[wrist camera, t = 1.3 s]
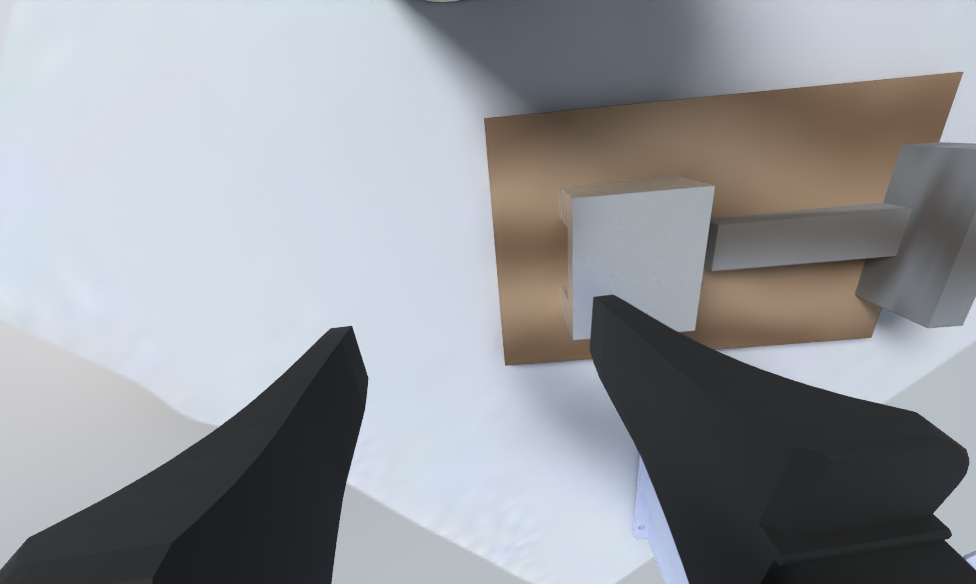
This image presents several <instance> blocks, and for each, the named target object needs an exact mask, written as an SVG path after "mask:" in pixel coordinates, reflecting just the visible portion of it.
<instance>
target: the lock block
mask: <svg viewBox="0 0 976 584" xmlns="http://www.w3.org/2000/svg"><path fill="white" fill-rule="evenodd" d="M714 189H715V186H714V185H710V184H707V183H703V182H699V181H696V180H692V179H688V178H684V177H681V176H673V177H662V178H651V179H640V180H629V181H618V182H607V183H596V184H585V185H574V186H563V187H559V208H560V219H561V220H562V222H563V223H564V224H565V225H566V227H567V228H568V284H564V285H561V311H562V314H563V316H564V319H565V321H566V324H567V326H568V329H569V331H570V334H571V336H572V339H573V340H581V339H590V336H591V322H592V308H593V297H596V296H604V295H615V296H617V297H619V298H621V299H623V300H624V301H626V302H628V303H629V304H631V305H633V306H634V307H636V308H638V309H639V310H641V311H643V312H644V313H646V314H648V315H649V316H651V317H653V318H655V319H656V320H658V321H660V322H661V323H663V324H665V325H667V326H668V327H670V328H672V329H674V330H676V331H677V332H683V331H695V326H696V319H697V312H698V305H699V297H700V290H701V283H702V276H703V269H704V261H705V254H706V247H707V240H708V233H709V225H710V218H711V211H712V204H713V197H714Z"/></svg>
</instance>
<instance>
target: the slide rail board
mask: <svg viewBox="0 0 976 584" xmlns="http://www.w3.org/2000/svg"><path fill="white" fill-rule="evenodd" d="M962 74H963V72H956V73H945V74H935V75H925V76H915V77H904V78H894V79H884V80H874V81H863V82H853V83H843V84H833V85H822V86H812V87H802V88H791V89H781V90H771V91H761V92H750V93H740V94H730V95H720V96H709V97H699V98H689V99H679V100H668V101H658V102H648V103H637V104H627V105H617V106H607V107H596V108H586V109H576V110H566V111H555V112H545V113H535V114H525V115H514V116H504V117H494V118H484V121H485V133H486V145H487V157H488V168H489V180H490V192H491V204H492V216H493V228H494V239H495V251H496V263H497V275H498V287H499V298H500V310H501V322H502V334H503V346H504V357H505V366H506V365H519V364H532V363H545V362H558V361H571V360H584V359H592V356H591V353H590V339H581V340H573V339H572V336H571V334H570V331H569V329H568V326H567V324H566V321H565V319H564V316H563V314H562V311H561V285H564V284H568V228H567V227H566V225H565V224H564V223H563V222H562V220H561V219H560V208H559V187H563V186H574V185H585V184H596V183H607V182H618V181H629V180H640V179H651V178H662V177H673V176H681V177H684V178H688V179H692V180H696V181H699V182H703V183H707V184H710V185H714V186H715V189H714V197H713V204H712V211H711V218H710V225H709V233H708V240H707V247H706V254H705V261H704V269H703V276H702V283H701V290H700V297H699V305H698V312H697V319H696V326H695V331H683V332H679V333H681V334H683V335H685V336H687V337H689V338H691V339H693V340H695V341H697V342H699V343H701V344H702V345H705V346H707V347H709V348H711V349H713V350H715V349H729V348H742V347H755V346H768V345H781V344H794V343H807V342H820V341H834V340H847V339H860V338H871V337H872V334H873V331H874V328H875V325H876V323H877V320H878V317H879V314H880V311H881V308H882V307H883V308H885V309H887V310H889V311H892V312H894V313H896V314H898V315H900V316H902V317H905V318H907V319H909V320H911V321H913V322H915V323H918V324H920V325H922V326H924V327H926V328H937V327H950V326H963V323H964V321H965V319H966V317H967V314H968V312H969V310H970V308H971V306H972V303H973V301H974V299H975V297H976V144H969V143H943V142H939V141H940V138H941V135H942V132H943V129H944V126H945V123H946V120H947V118H948V115H949V112H950V109H951V106H952V103H953V100H954V97H955V94H956V92H957V89H958V86H959V83H960V80H961V77H962Z"/></svg>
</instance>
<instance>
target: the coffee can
mask: <svg viewBox="0 0 976 584" xmlns="http://www.w3.org/2000/svg"><path fill="white" fill-rule="evenodd" d="M427 1H433V2H451V1H458V0H427Z"/></svg>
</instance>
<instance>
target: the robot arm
mask: <svg viewBox="0 0 976 584" xmlns="http://www.w3.org/2000/svg"><path fill="white" fill-rule="evenodd" d="M590 353H591V356H592V359H593V362H594V364H595V367H596V370H597V372H598V375H599V377H600V380H601V382H602V384H603V385H604V387H605V389H606V391H607V393H608V395H609V397H610V399H611V401H612V402H613V404H614V406H615V408H616V410H617V412H618V413H619V415H620V417H621V419H622V421H623V423H624V425H625V426H626V428H627V430H628V432H629V434H630V436H631V438H632V439H633V441H634V443H635V445H636V447H637V450H638V452H639V454H640V456H639V468H638V479H637V490H636V502H635V513H634V525H633V535H634V538H635V539H637V540H648V541H649V544H650V547H651V549H652V552H653V554H654V557H655V559H656V562H657V564H658V567H659V570H660V572H661V575H662V578H663V580H664V582H665V584H976V551H974V552H972V553H970V554H967V555H965V556H964V557H961V555H960V554H958V553H957V552H956V551H955V550H954V549H953V548H952V547H951V546H950V545H949V544H948V543H947V542H946V541H945V539H949V538H950V537H951V536H952V534H951V531H950V529H949V528H948V527H947V526H945V525H944V524H943V523H942V522H941V521H940V520H939V519H938V518H937V517H936V516H934V515H933V513H934V512H935V511H936V509H937V508H938V507H939V506H940V505H941V504H942V503H943V502H944V500H945V499H946V498H947V497H948V496H949V495H950V494H951V493H952V491H953V490H954V489H955V488H956V487H957V486H958V485H959V483H960V482H961V480H962V479H963V478H964V476H965V475H966V473H967V470H968V466H969V457H968V453H967V450H966V449H965V448H963V447H962V446H961V445H960V444H958V443H957V442H956V441H954V440H953V439H952V438H950V437H949V436H948V435H946V434H945V433H944V432H942V431H941V430H940V429H938V428H937V427H936V426H934V425H933V424H932V423H930V422H929V421H928V420H926V419H925V418H924V417H922V416H921V415H919V414H918V413H916V412H913V411H908V410H905V409H900V408H896V407H892V406H887V405H883V404H879V403H874V402H870V401H866V400H861V399H857V398H853V397H849V396H845V395H841V394H838V393H834V392H831V391H827V390H824V389H820V388H816V387H813V386H810V385H806V384H803V383H800V382H797V381H794V380H790V379H787V378H784V377H782V376H779V375H776V374H773V373H770V372H767V371H764V370H762V369H759V368H756V367H754V366H751V365H748V364H746V363H743V362H741V361H738V360H736V359H734V358H731V357H729V356H727V355H724V354H722V353H720V352H717V351H715V350H713V349H711V348H709V347H707V346H705V345H702V344H701V343H699V342H697V341H695V340H693V339H691V338H689V337H687V336H685V335H683V334H681V333H679V332H677V331H676V330H674V329H672V328H670V327H668V326H667V325H665V324H663V323H661V322H660V321H658V320H656V319H655V318H653V317H651V316H649V315H648V314H646V313H644V312H643V311H641V310H639V309H638V308H636V307H634V306H633V305H631V304H629V303H628V302H626V301H624V300H623V299H621V298H619V297H617V296H615V295H604V296H596V297H593V308H592V322H591V336H590ZM367 387H368V376H367V372H366V369H365V366H364V363H363V360H362V356H361V353H360V350H359V347H358V344H357V340H356V337H355V334H354V331H353V328H352V326H347V327H339V328H331V329H330V330H329V331H327V332H326V333H325V334H324V335H323V336H322V337H321V338H320V339H319V340H318V341H317V342H316V343H315V344H314V345H313V346H312V347H311V348H310V349H309V350H308V351H307V352H306V353H305V354H304V355H303V356H302V357H301V358H299V359H298V360H297V361H296V362H295V363H294V364H293V365H292V366H291V367H290V368H289V369H288V370H287V371H286V372H285V373H284V374H283V375H282V376H281V377H279V378H278V379H277V380H276V381H275V382H274V383H273V384H272V385H270V386H269V387H268V388H267V389H266V390H265V391H264V392H262V393H261V394H260V395H259V396H258V397H257V398H256V399H255V400H253V401H252V402H251V403H250V404H248V405H247V406H246V407H245V408H243V409H242V410H241V411H240V412H238V413H237V414H236V415H235V416H233V417H232V418H231V419H229V420H228V421H227V422H225V423H224V424H223V425H221V426H220V427H219V428H217V429H216V430H214V431H213V432H212V433H210V434H209V435H207V436H206V437H204V438H203V439H201V440H200V441H198V442H197V443H195V444H194V445H192V446H191V447H189V448H188V449H186V450H185V451H183V452H182V453H180V454H179V455H177V456H176V457H174V458H173V459H171V460H170V461H168V462H166V463H165V464H163V465H162V466H160V467H159V468H157V469H155V470H153V471H152V472H150V473H148V474H147V475H145V476H143V477H142V478H140V479H138V480H136V481H135V482H133V483H131V484H130V485H128V486H126V487H124V488H123V489H121V490H119V491H117V492H116V493H114V494H112V495H110V496H108V497H106V498H105V499H103V500H101V501H99V502H97V503H95V504H93V505H91V506H90V507H88V508H86V509H84V510H82V511H80V512H78V513H76V514H74V515H72V516H70V517H68V518H66V519H65V520H62V521H61V522H59V523H57V524H55V525H53V526H51V527H49V528H47V529H45V530H43V531H41V532H39V533H37V534H35V535H33V536H31V537H29V538H28V539H27V540H26V541H25V542H24V543H23V545H22V546H21V547H20V548H19V549H18V550H17V552H16V553H15V554H14V555H13V556H12V557H11V558H10V560H9V561H8V562H7V563H6V564H5V565H4V567H3V568H2V569H1V570H0V584H331V582H332V573H333V565H334V557H335V550H336V541H337V534H338V527H339V520H340V514H341V508H342V501H343V495H344V491H345V486H346V481H347V477H348V473H349V470H350V466H351V462H352V458H353V454H354V450H355V447H356V443H357V439H358V435H359V431H360V427H361V423H362V419H363V415H364V411H365V404H366V397H367Z"/></svg>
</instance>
